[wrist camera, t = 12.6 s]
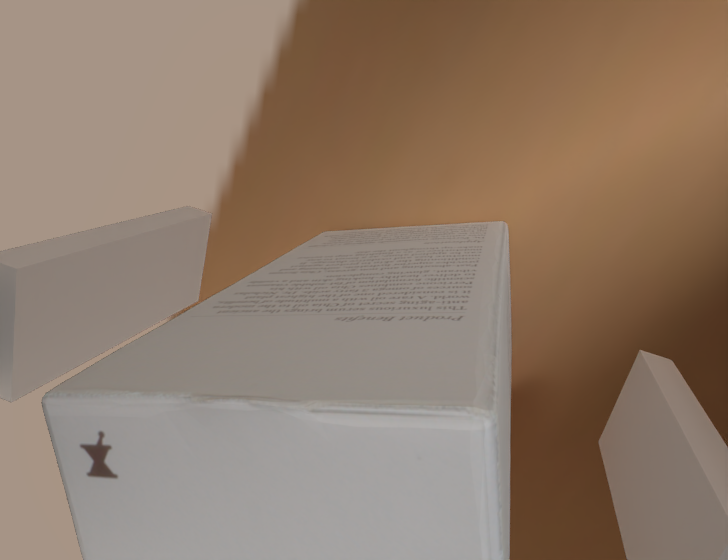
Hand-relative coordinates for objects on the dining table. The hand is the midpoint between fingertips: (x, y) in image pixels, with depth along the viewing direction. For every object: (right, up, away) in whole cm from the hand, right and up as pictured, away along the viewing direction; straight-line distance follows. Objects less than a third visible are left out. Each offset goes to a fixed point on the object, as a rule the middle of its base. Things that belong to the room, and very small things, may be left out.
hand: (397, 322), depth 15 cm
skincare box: (+1, +1, +3) cm, 4 cm away
